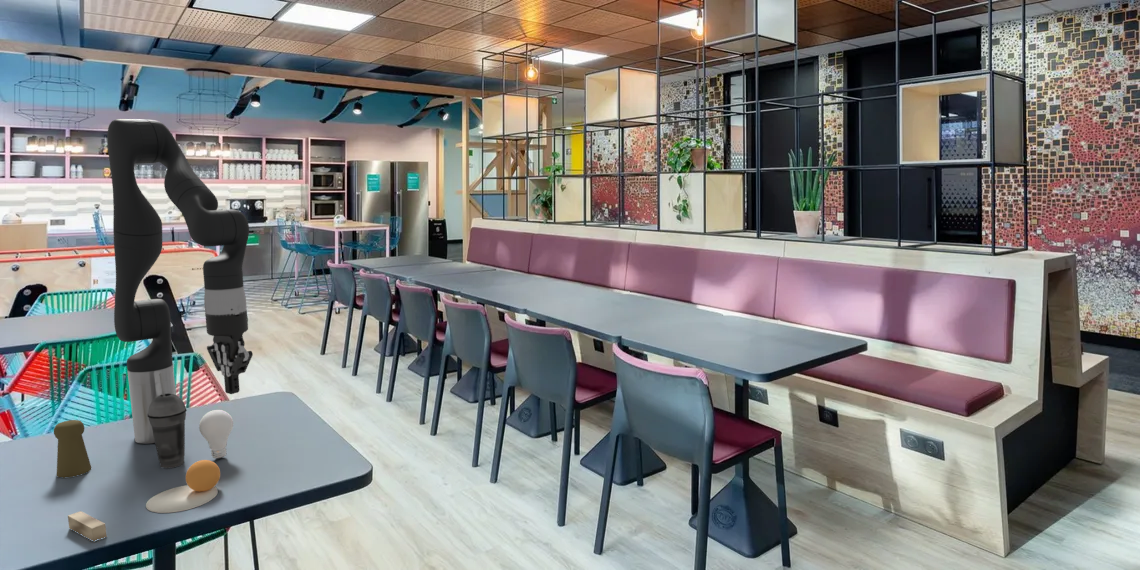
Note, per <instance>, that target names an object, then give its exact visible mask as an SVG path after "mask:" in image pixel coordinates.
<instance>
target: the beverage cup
mask: <svg viewBox="0 0 1140 570" xmlns="http://www.w3.org/2000/svg"><path fill="white" fill-rule="evenodd" d="M159 376H160V382H161V389H162V395H160V396H158V397H156V398H155V399H154V400H153V401H152V402H151V404H150V406H149V409H148V417H149V421H150V424H151V426H152V430H153V435H154V440H155V443H154V444H155V449H156V454H157V457H158V458H157V459H158V461H159V465H160V468H161V469H173V468H177V467H179V466H182V465H184V463H185V456H186V455H185V454H186V453H185V450H186V447H185V444H186V442H185V441H186V439H185V438H186V437H185V436H186V434H185V432H186V431H185V429H186V428H185V425H186V424H185V422H186V418H187V413H186V412H187V411H188V410H187V408H186V405H185V402H184V400H183V399H182V398H181V397H180V396H178V395H177V394H176V395H174V394H170V393H168V394H165V390H164V384H163V378H162V373H160V374H159Z"/></svg>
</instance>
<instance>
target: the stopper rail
mask: <svg viewBox="0 0 1140 570" xmlns="http://www.w3.org/2000/svg"><path fill="white" fill-rule="evenodd" d="M67 519H68V520H67V521H68V529H69V528H70V529H72V530H74V531H76V532H78V533H79V534H82V535H83V536H85V537H87V538H89V539H91V540H93V541H95V540H97V539H101V538H104V537H107V538H108V536H107V526H106V523H105V522H103V521H101V520H99V519H97V518H95V517H93V516H91V515H90V514H87V513H86V512H84V511H81V510H80V511H76V512H74V513H71V514H68V515H67ZM70 529H69V530H70ZM72 530H71V531H72ZM74 531H73V532H74ZM76 532H75V533H76ZM79 534H78V535H79ZM83 536H82V537H83ZM85 537H84V538H85ZM104 539H105V538H104Z"/></svg>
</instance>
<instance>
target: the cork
mask: <svg viewBox="0 0 1140 570" xmlns="http://www.w3.org/2000/svg"><path fill="white" fill-rule="evenodd" d="M84 432H85V424H84V423H83V422H82V421H81V420H78V419H70V420H65V421H62V422H59V423H57V424H55V426H54V428H53V435H54V436H55V438H56V440H57V456H56V457H57V458H56V476H58V477H57V478H59V477H63V478H62V479H66V478H65V477H69V478H74V477H73V476H75V477H78V476H77V475H79V476H82V475H84V473H85V474H87V473H89V472H90V471H91V470H92V469H91V468H92V466H91V465H92V464H91V461H90V457H89V454H88V451H87V449H86V448H87V447H86V445H85V441H84V437H83V433H84ZM86 472H87V473H86ZM81 474H82V475H81Z"/></svg>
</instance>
